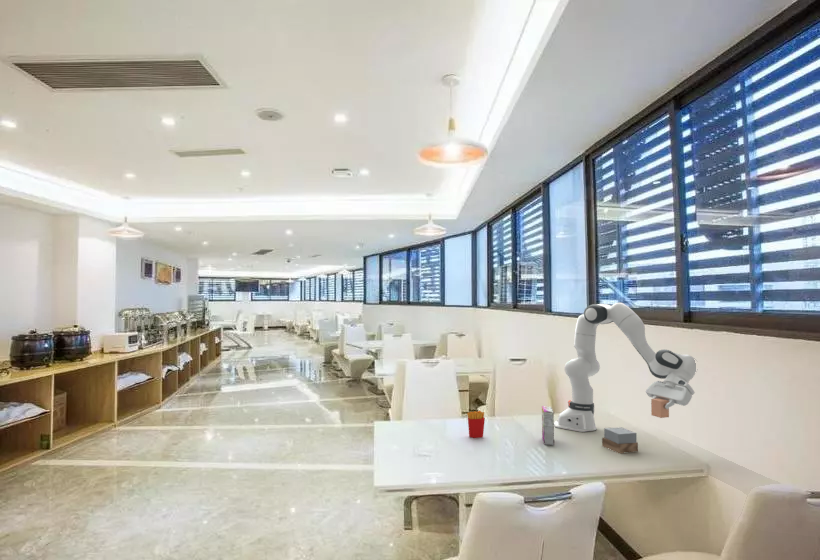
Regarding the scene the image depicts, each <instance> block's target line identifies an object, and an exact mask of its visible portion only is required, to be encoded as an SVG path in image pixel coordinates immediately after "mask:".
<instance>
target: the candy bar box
mask: <svg viewBox="0 0 820 560" xmlns="http://www.w3.org/2000/svg"><path fill="white" fill-rule="evenodd" d="M554 417H555V416H554V410H553V407H552V406H547V405H546V406H545V405H542V406H541V427H542V428H541V430H542V431H541V434H542V435H541V437H542V441H543V444H544V445H545V446H554V445H555V429H554V428H555V426H554V422H555V421H554V419H555V418H554Z"/></svg>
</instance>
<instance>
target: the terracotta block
mask: <svg viewBox="0 0 820 560" xmlns="http://www.w3.org/2000/svg"><path fill="white" fill-rule="evenodd" d="M650 400H651V401H650V402H651V403H650V404H651V408H650V409H651V410H650V411H651V413H650V414H651V416H653V417H656V418H659V419H663V418H664V419H665V418H669V417H670V408H669V409H668V410H667V409H664V408H663V406H664V404H667V403H668V402H669V401H668V400H664V399H660V398H658V399H653V398H651V399H650Z"/></svg>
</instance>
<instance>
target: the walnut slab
mask: <svg viewBox="0 0 820 560" xmlns="http://www.w3.org/2000/svg"><path fill="white" fill-rule="evenodd" d="M603 446H604V447H603ZM601 447H603V448H605V447H606V449H608V448H609V449H608V450H610V449H611V450H610V451H612V450H613V452H615V451H616V452H615V453H617V452H618V453H617V454H619V453H620V454H625V453H624V452H628V453H634V452H633V451H637V452H638V451H639V444H638V442H637V443H625V444H617V443H615V442H613V441H611V440H609V439H606V438H604V437H602V438H601Z"/></svg>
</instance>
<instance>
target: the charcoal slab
mask: <svg viewBox="0 0 820 560" xmlns="http://www.w3.org/2000/svg"><path fill="white" fill-rule="evenodd" d="M603 430H604V432H603V433H604V434H603V435H604V436H603V438H606V439H609V440H611V441H613V442H615V443H617V444H625V443H638V440H637V438H638V437H637V432H634V431H633V430H632V431H631V430H629V429H627V428H624V427H620V426H619V427H605V428H604V429H603Z"/></svg>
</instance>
